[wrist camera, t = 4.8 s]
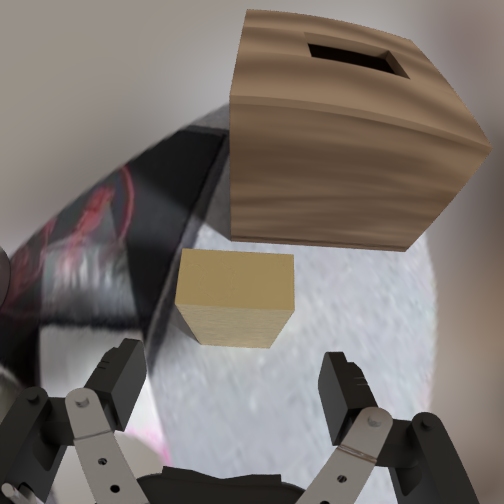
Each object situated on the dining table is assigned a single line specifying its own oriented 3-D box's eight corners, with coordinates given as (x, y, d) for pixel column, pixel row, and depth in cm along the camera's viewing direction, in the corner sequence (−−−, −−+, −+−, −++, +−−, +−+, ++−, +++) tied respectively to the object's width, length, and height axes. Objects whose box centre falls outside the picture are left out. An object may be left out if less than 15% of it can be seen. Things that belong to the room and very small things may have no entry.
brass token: (269, 348, 21) (294, 310, 12) (200, 344, 21) (174, 303, 12) (270, 314, 22) (293, 254, 14) (203, 310, 22) (182, 248, 13)
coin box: (405, 251, 26) (493, 148, 13) (231, 241, 25) (229, 95, 13) (372, 136, 33) (411, 40, 20) (242, 120, 32) (246, 9, 20)
